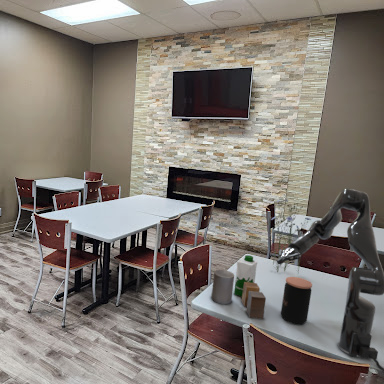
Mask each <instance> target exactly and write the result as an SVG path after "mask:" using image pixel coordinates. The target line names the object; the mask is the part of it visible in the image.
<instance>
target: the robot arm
mask: <svg viewBox="0 0 384 384" xmlns="http://www.w3.org/2000/svg"><path fill="white" fill-rule="evenodd" d="M342 209H344V210H345V209H346V210H350V211H354V212H356V215H357V216H356V218H355V219H354V220H353V221H352V222H351V223H350V225H349V226H348V227H347V229H346V234H347V242H348V244H349V247H350V249H352V251H353V252H354V253H355V254H356V255H357V256H358V257H359V258H360V259H361V260H362V261H363V263H364V264H365V265H366V268H365V267H359V266H354V267H351V269H350V271H349V275H348V283H347V292H346V298H345V299H346V301H345V307H344V312H343V317H342V324H341V329H340V334H339V335H340V336H339V342H338V345H337V346H338V349H339V350H341V351H342V352H343V353H345V354H346V355H348V356H349V357H350V358H351V357H352V358H360V359H367V360H369V359H370V360H372V361H374V363H375V365H376V366H377V367H378V368H379V369H380V370H381V371H382V372H384V368H383V367H382V365H381V364H380V363H379V361H378V359H377V358H378V354H379V351H378V350H377V349H376V348H375V347H371V343H372V338H373V336H372V330H373V324H374V320H375V316H376V315H375V314H376V305H375V304H374V303H373V302H372V301H370V300H368V299H366V298H365V297H363V296H361V295H360V294H365V295H366V294H367V295H370V296H383V295H384V269H383V265H382V263H381V261H380V257H379V253H378V247H377V241H376V237H375V236H376V235H375V232H374V227H373V223H372V218H371V203H370V197H369V195H368V193H366V192H365V191H362V190H356V189H353V188H343V189H341V191H340V192H339V193H338V195H337V196H336V197H335V200H334V201H333V203H332V205H331V207H330V209H329V210H328V212H327V213H326V214H325V215H324V216H323V217H322V218H321V219H319V220H318V219H317V220H315V221H313V222H312V223H311V224H310V227H309V228H308V230H307V231H306V232H304V234H303V233H302V234H301V235H300V236H298V237H297V238H296V239H294V240H293V241H291V243H290V244H289V243H288V246H289V247H288V246H287V247H285V249H283V248H280V249H278V252H279V256H280V257H279V259H278V258H277V259H276V265H277V264H278V265H280V264H281V265H283V264H284V263H285V262H286V261H288V262H292V261H295V260H300V259H301V258H302V255H303V254H305V253H306V252H307V251H309V250H310V249H311V248H312V247H313V246H315V244H318V242H319V241H320V239H321V240H328V239H330V238H331V236H332V235H333V234H334V230H335V228H336V227H337V226H338V225H340V223H341V221H342V219H343V214H342V211H341V210H342ZM283 262H284V263H283Z"/></svg>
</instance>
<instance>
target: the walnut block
mask: <svg viewBox="0 0 384 384" xmlns="http://www.w3.org/2000/svg"><path fill="white" fill-rule="evenodd" d="M266 299H267V298H266V296H265V295H264V293H263V292H262V291H259V292H255V291H249V293H248V301H247V307H246V314H247V315H248V318H251V319H258V320H259V319H260V320H264V315H265V308H266Z"/></svg>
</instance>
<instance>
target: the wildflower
mask: <svg viewBox="0 0 384 384" xmlns="http://www.w3.org/2000/svg"><path fill="white" fill-rule="evenodd" d="M280 201H281V199H279V200H277V201H276V204H278V209H279V212H280V213H278V217H279V219H280V220H276V216H274V217H272V218H271V219H270V220H271V221H273V220H275V225H276V226H277V231H276V235H277V236H276V238H275V239H276V242H278V244H275V248H277V246H278V248H277V249H278V250H280V249H283V250H285V249H286V245H287V244H288V246H287V248H288V247H289V244H290V243H292V240H291V239H292V238H293V237H294V234H296V233H297V232H299V230H300V229H299V225H297V224H296V223H293V222H294V221H295V220H296V216H297V215H298V214H299V213H300V211H301V210H302V209H303V207H304V206H303V205H301V206H299V208H300V209H297V210H296V206H298V205H299V202H297V203H293V205H292V203H289V204H287V203H288V202H289V200H288V199H287V198H285V200H284V199H283V200H282V202H281V203H280ZM284 201H285V202H284ZM283 202H284V205H283ZM286 204H287V205H286ZM285 206H287V207H288V208H289V209H288V212H289V216H287V217H286V219H285V216H283V220H282V216H281V215H282V214H283V210H284V209H285ZM281 207H282V208H281ZM280 208H281V209H280ZM292 215H293V216H292ZM304 219H305V220H304V221H303V222H300V225H301V227H302V230H301V233H302V235H303V234H305V232H304V231H305V230H306V228H307V226H306V225H304V224H308V223H309V221H312V219H311V218H310V217H305V218H304ZM306 220H307V221H306ZM282 223H283V224H282ZM280 224H281V227H280ZM295 225H296V226H295ZM293 226H295V227H296V228H295V229H294V233H292V232H293V231H292V230H293ZM280 228H281V229H280ZM286 228H287V230H286ZM280 230H281V231H280ZM283 231H284V233H286V232H287V233H286V238H285V235H281V234H282V233H283ZM280 235H281V236H280ZM282 237H283V239H284V241H282V243H284V244H281V240H280V239H281V238H282ZM274 251H275V252H274V254H273V260H272V261H273V263H272V266H274V264H275V263H276V265H275V270H276V272H277V273H278V272H279V268H280V267H282V264H284V266H283V271H284V272H286V269H287V266H289V260H288V261H285V262H283V263H282V264H277V259H279V258H280V256H279V251H277V250H274ZM276 256H277V259H276ZM298 260H299V261H298V265H297V270H296V271H297V274H299V272H300V270H299V269H300V264H301V259H298Z"/></svg>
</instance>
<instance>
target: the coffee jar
mask: <svg viewBox="0 0 384 384" xmlns="http://www.w3.org/2000/svg"><path fill="white" fill-rule="evenodd" d="M312 287H313V283H312V282H311V281H309V280H308V279H305V278H302V277H298V276H287V277H286V278H285V283H284V288H283V296H282V302H281V309H280V315H281V317H282V319H283V320H284V321H286V322H287V323H289V324H293V325H297V326H301V325H305V324H306V323H307V322H308V316H309V311H310V310H309V309H310V303H311V296H312Z"/></svg>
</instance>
